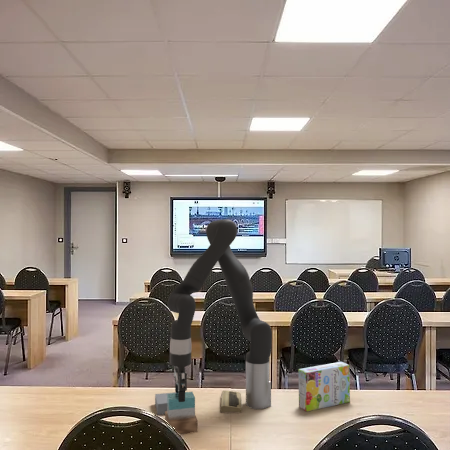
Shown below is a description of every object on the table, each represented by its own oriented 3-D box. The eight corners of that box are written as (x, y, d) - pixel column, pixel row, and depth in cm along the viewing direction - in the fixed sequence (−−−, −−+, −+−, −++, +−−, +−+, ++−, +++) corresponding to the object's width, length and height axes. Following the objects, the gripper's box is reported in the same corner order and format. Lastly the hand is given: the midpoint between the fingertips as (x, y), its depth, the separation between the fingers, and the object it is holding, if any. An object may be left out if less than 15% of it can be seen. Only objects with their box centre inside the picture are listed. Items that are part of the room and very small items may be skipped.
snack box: (341, 397, 183) (341, 360, 182) (350, 402, 177) (350, 364, 177) (297, 406, 173) (297, 368, 173) (306, 412, 168) (306, 372, 168)
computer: (242, 414, 168) (242, 405, 168) (220, 413, 168) (220, 405, 168) (241, 397, 184) (241, 389, 184) (221, 397, 184) (221, 389, 184)
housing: (192, 411, 160) (192, 391, 160) (195, 417, 154) (195, 397, 154) (167, 413, 158) (167, 393, 158) (168, 420, 152) (168, 399, 152)
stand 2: (192, 419, 162) (192, 408, 162) (197, 431, 152) (197, 420, 152) (165, 422, 160) (165, 411, 160) (168, 435, 150) (168, 423, 150)
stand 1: (180, 401, 178) (180, 391, 178) (184, 412, 168) (184, 401, 168) (155, 404, 176) (155, 394, 176) (157, 414, 166) (157, 404, 166)
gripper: (194, 355, 150) (193, 404, 150) (188, 344, 164) (187, 388, 164) (172, 357, 148) (171, 405, 148) (167, 345, 162) (167, 390, 162)
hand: (179, 396), depth 156 cm, fingers open, 8 cm apart
